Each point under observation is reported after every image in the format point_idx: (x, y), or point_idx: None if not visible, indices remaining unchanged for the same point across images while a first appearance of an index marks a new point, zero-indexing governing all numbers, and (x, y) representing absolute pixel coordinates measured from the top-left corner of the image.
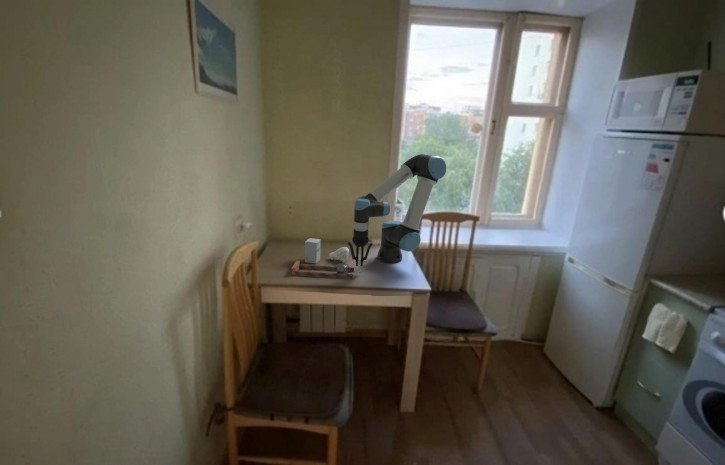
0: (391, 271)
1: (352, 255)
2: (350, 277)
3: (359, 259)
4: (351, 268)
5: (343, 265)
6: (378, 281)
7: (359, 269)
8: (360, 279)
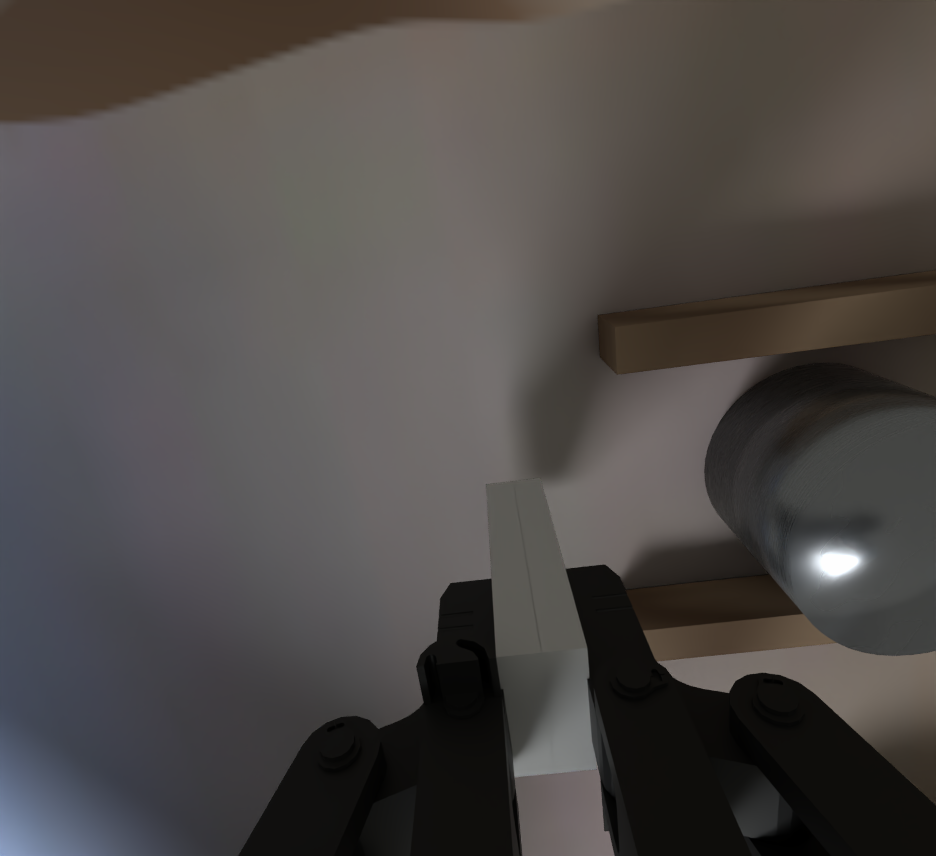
0: (62, 727)
1: (914, 819)
2: (647, 313)
3: (559, 767)
4: (674, 623)
5: (905, 551)
6: (119, 333)
7: (508, 516)
8: (452, 327)
